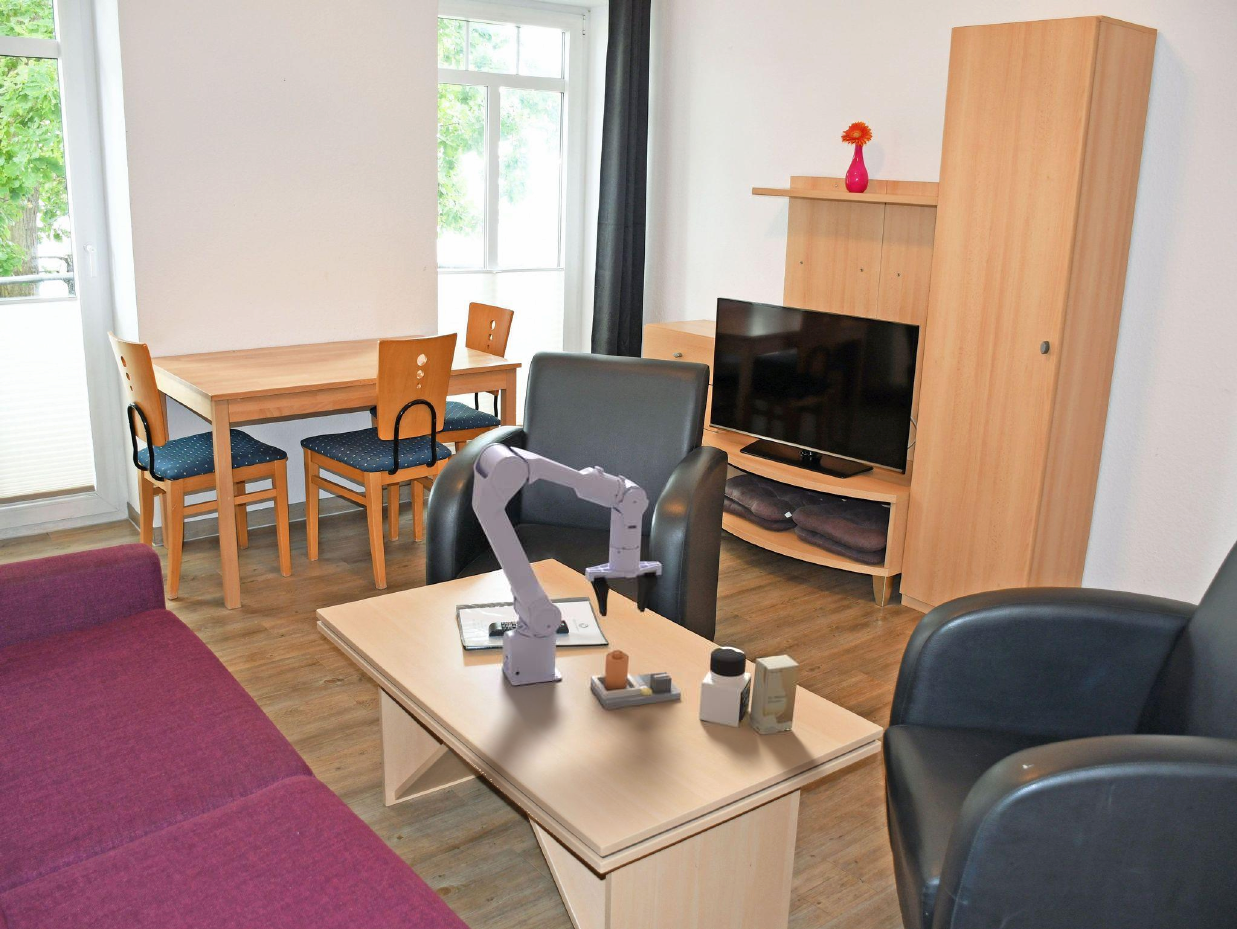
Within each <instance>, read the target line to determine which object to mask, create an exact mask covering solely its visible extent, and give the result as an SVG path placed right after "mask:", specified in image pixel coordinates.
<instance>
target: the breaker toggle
mask: <svg viewBox="0 0 1237 929" xmlns="http://www.w3.org/2000/svg"><path fill="white" fill-rule="evenodd" d="M662 672H663V671H662ZM655 673H656V674H651V673H650V674H651V677H650V688H651V689H652V690H653V691H654V692H655V693H660V692H668V691H671V682H672V677H671V676H670V675H669V674H668V673H667V671H665V672H663V673H658V672H655Z"/></svg>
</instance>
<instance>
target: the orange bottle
mask: <svg viewBox="0 0 1237 929" xmlns="http://www.w3.org/2000/svg"><path fill="white" fill-rule="evenodd" d="M629 658H630V657H629V655H628V654H627V653H625V652H624V651H622V650H620V649H616V650H612V651H611V652H608V653H607V654H606V655H605V669H604V670H605V671H604V675H605V685H604V687H605V689H606V690H607V691H612V690H620V689H627V676H628V673H629Z"/></svg>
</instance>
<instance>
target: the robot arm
mask: <svg viewBox="0 0 1237 929" xmlns="http://www.w3.org/2000/svg"><path fill="white" fill-rule="evenodd" d="M509 448H510V449H511V450H510V449H509ZM472 467H473V474H474V477H473V478H474V479H473V488H472V490H473V491H472V500H471V506H472V509H473V511H474V513H475V515H476V517H477V519H478V520H477V521H478V522H479V523H480V525H481V528H482V530H483V532H484V534H485V535H486V538H487V540H488V542H489V545H490V546H491V548H492V550H493V551H492V552H493V553H494V555H495V557H496V559H497V561H498V563H499V565H500V567H501V569H502V571H503V573H504V575H505V577H506V579H507V581H508V583H509V585H510V592H511V594H512V597H513V598H512V599H513V602H512V608H513V611H514V612H515V614H517V615H518V621H517V623H516V627H515V628H514V629H510V630H507V631H504V633H503V638H502V665H501V668H502V670H503V672H504V674H505V676H506V677H507V679H508V681H509V682H510V684H511V685H512V686H518V685H519V686H520V685H522V686H523V685H529V684H536V683H542V682H543V683H545V682H550V681H551V682H553V681H558V680H562V679H563V677H562V675H561V673H560V671H559V670H558V668H557V667H556V656H557V655H556V650H557V630H558V629H559V627H560V625H561V623H562V619H563V618H562V617H563V615H562V612H561V609H560V607H558V606H557V605H556V604H555V603H553V602H552V600H550V598H549V596H548V594H547V593H546V590H545V589H544V588H543V587H542V585H541V583H540V582H539V580H538V578H537V576H536V574H535V572H534V570H533V567H532V565H531V564H530V561H529V560H528V557H527V554H526V553H525V551H524V549H523V546H522V544H521V542H520V540H519V538H518V536H517V533H516V531H515V529H514V527H513V525H512V523H511V521H510V519H509V516H508V515H507V513H506V510H505V508H506V506H507V505H508V503H509V501H510V500H511V499H512V498H513V497H514V496H515V495H516V494H517V492H518V491H519V490H521V488H522V487H523V486H524V484H525V483H526V484H528V485H531V484H533V483H534V482H535V481H537V480H538V479H543V480H545V481H549V482H552V483H556V484H559V485H562V486H565V487H568V488H572V489H573V490H574V491H575V494H576V496H577V498H580V499H583V500H586V501H589V502H592V503H595V504H596V505H597V504H598V505H599V506H600V505H601V506H603V507H606V508H611V509H610V510H611V512H610V532H609V535H610V536H609V552H608V553H609V555H608V562H607V563H604V564H600V565H596V566H591V567H587V568H585V575H584V576H585V577H584V578H585V579H586V580H587V582H589V583H590V585H591V586H592V589H593V591H594V594H595V598H596V600H597V604H598V611H599V612H598V613H599V614H600V615H601V617H607V614H608V599H609V592H610V588H611V587H610V585H609V584H608V581H607V580H606V579H612V578H613V579H615V578H623V577H625V578H627V579H629V578H636V579H637V580H636V581H637V598H636V609H637V610H638V611H639V612H640V613H644V612H645V610H646V607H647V604H648V601H649V599H650V596H651V594H652V592H653V591H654V589H655V587H656V586H657V585H658V582H659V577H658V576H659V575H662V570H663V569H662V568H663V565H662V564H661V563H660V562H659V561H640V560H641V543H642V542H641V541H642V525H643V523H642V522H643V515H644V513H645V512H646V510H647V508H648V507H649V504H650V503H649V502H650V500H649V499H647V497H648V496H647V494H646V491H645V490H644V488H642V487H640V486H639V485H638V484H636V483H634V482H633V481H632V480H630V479H627V478H626V477H625V476H622V475H618V476H614V475H613V474H609V473H606V472H605V469H604V468H602V467H600V466H597V465H595V467H594V468H593V467H585V468H583V469H580V470H577V469H574V468H572V467H570V466H567V465H565V464H562V463H559V462H557V461H555V460H552V459H550V458H547V457H544V456H541V455H539V454H537V453H534V452H531V451H528V450H525V449H521V448H518V447H514V446H510V447H507V446H506V445H505V444H503V443H495V442H494V443H491V444H488V445H486V446H485V447H484V448H483V449H482V450H481V451H480V452H479V455H477V458H476V460H475V461H474V464H473V466H472Z"/></svg>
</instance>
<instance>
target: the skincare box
mask: <svg viewBox="0 0 1237 929" xmlns="http://www.w3.org/2000/svg"><path fill="white" fill-rule="evenodd" d="M754 665H755V667H754V674H753V676H754V677H753V683H752V684H753V685H752V692H751V693H752V694H751V705H750V714H749V725H751V726H752V727H753V729H754V730H756V731H757V733H759V734H760V735H768V734H774V733H779V732H778V731H781V732H784V731H783V730H787V729H791V728H792V729H793V722H794V711H795V704H796V703H795V702H796V694H797V685H798V677H799V668H800V667H799V666H800V664H799V663H797V661H795V660H793V659H792V658H791V657H790V656H789V655H787V654H783V655H782V654H781V655H776V656H775V655H773V656H768V657H767V656H766V657H762V658H756V659H755V664H754ZM792 729H791V730H792ZM787 731H788V730H787Z"/></svg>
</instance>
